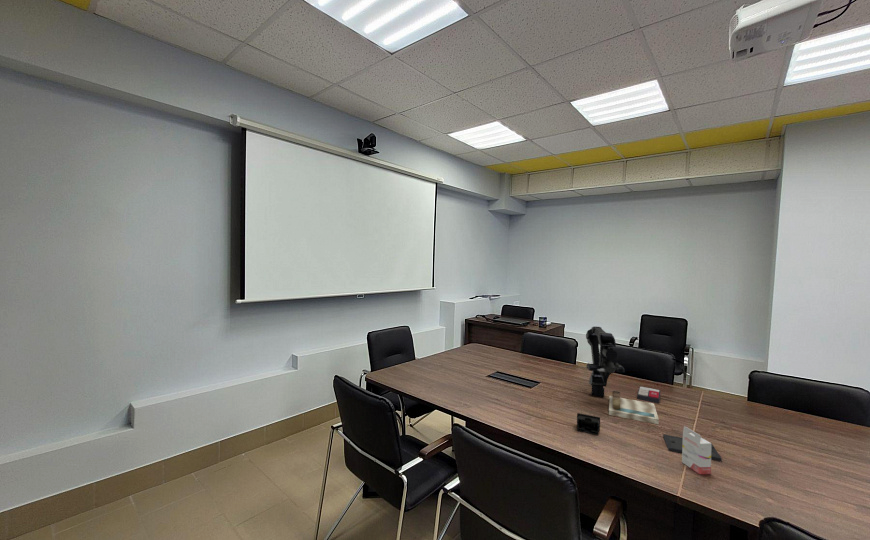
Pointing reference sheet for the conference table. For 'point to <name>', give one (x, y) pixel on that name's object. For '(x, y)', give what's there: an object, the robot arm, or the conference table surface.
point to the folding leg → (616, 400)
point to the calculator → (648, 394)
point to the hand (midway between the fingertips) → (604, 382)
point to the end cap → (588, 424)
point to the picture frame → (676, 446)
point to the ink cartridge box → (696, 452)
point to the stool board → (634, 410)
